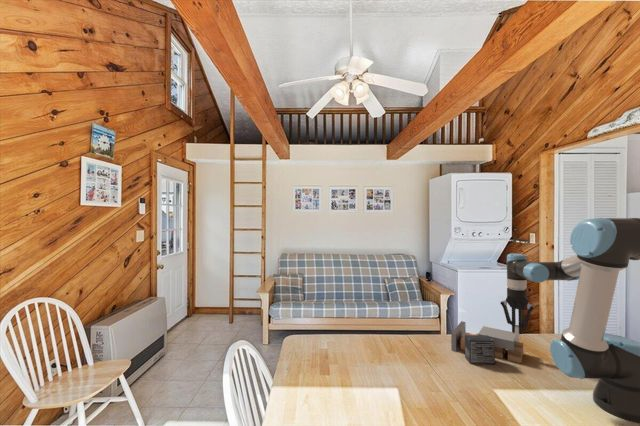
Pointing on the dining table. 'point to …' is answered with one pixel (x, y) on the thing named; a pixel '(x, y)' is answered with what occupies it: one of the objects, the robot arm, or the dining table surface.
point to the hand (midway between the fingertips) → (517, 340)
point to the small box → (479, 349)
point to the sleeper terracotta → (464, 340)
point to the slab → (500, 337)
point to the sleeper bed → (510, 352)
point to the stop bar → (457, 336)
